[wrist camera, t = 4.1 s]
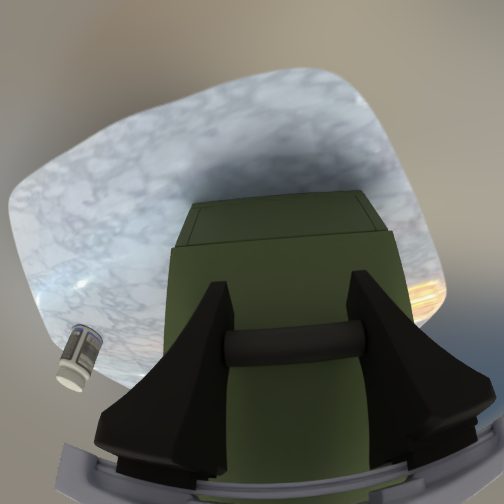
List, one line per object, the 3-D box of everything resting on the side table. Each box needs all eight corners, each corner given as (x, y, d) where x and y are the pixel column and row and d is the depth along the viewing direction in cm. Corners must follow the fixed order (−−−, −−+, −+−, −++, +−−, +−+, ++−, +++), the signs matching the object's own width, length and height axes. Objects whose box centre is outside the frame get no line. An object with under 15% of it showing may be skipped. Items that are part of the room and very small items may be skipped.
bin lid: (414, 495, 7) (448, 519, 4) (174, 513, 9) (141, 542, 5) (389, 235, 15) (412, 192, 11) (174, 252, 16) (145, 213, 12)
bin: (343, 317, 28) (353, 359, 23) (226, 326, 29) (222, 368, 25) (361, 190, 19) (388, 229, 15) (192, 203, 20) (174, 246, 16)
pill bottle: (76, 337, 33) (57, 383, 26) (72, 320, 30) (49, 370, 24) (103, 348, 34) (87, 397, 27) (102, 332, 31) (81, 385, 25)
